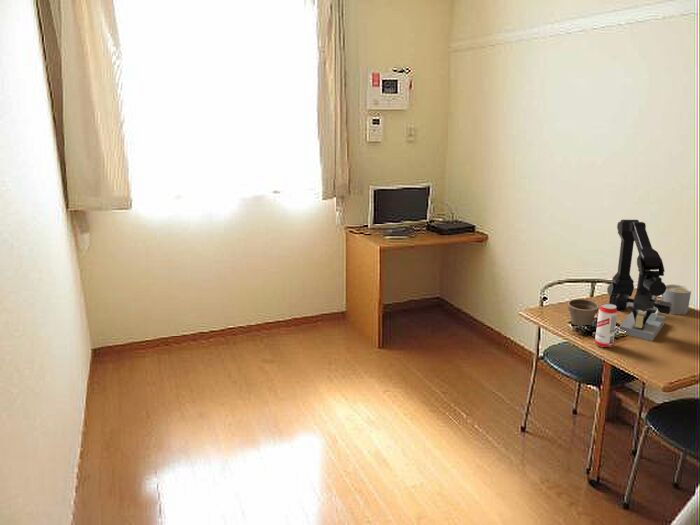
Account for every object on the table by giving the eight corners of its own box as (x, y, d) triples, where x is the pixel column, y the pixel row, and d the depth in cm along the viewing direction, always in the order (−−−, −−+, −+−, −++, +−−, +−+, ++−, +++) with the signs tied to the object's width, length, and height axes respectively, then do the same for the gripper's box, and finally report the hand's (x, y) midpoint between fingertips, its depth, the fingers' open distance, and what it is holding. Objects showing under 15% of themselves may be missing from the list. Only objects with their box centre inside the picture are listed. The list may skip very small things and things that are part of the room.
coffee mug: (687, 308, 232) (691, 286, 228) (687, 316, 224) (691, 294, 220) (652, 302, 238) (655, 281, 235) (650, 310, 230) (654, 288, 227)
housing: (618, 333, 211) (619, 325, 210) (632, 316, 225) (633, 309, 224) (652, 341, 203) (653, 333, 202) (664, 323, 218) (665, 316, 217)
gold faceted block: (634, 326, 208) (636, 315, 206) (638, 320, 213) (639, 308, 211) (641, 328, 206) (643, 316, 205) (644, 321, 212) (646, 310, 210)
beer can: (605, 350, 198) (610, 310, 193) (590, 343, 203) (595, 304, 198) (616, 346, 200) (622, 307, 195) (602, 340, 206) (607, 301, 201)
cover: (635, 316, 218) (636, 308, 217) (638, 312, 222) (639, 304, 221) (654, 320, 214) (656, 312, 213) (657, 316, 217) (658, 308, 216)
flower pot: (580, 335, 210) (582, 311, 207) (559, 324, 220) (561, 301, 217) (602, 329, 214) (605, 306, 211) (581, 319, 224) (583, 296, 221)
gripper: (614, 288, 204) (609, 325, 209) (670, 298, 193) (664, 337, 198) (620, 279, 212) (615, 315, 217) (674, 288, 202) (668, 326, 207)
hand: (640, 323), depth 210 cm, fingers closed on gold faceted block, 2 cm apart
